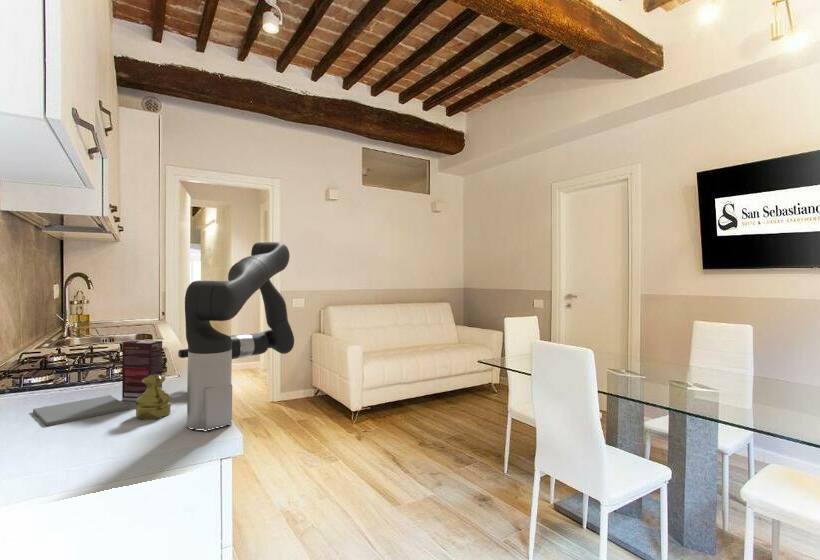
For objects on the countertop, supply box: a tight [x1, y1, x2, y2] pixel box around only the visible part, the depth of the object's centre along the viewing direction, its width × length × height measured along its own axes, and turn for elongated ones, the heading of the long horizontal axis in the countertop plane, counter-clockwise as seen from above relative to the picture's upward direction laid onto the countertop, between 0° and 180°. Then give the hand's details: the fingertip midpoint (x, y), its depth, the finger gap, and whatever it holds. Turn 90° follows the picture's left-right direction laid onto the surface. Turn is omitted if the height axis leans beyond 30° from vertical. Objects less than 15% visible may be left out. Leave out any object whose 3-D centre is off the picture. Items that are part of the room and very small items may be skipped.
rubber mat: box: [32, 394, 129, 427], centre depth 106 cm, size 14×16×1 cm
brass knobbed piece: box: [135, 374, 172, 420], centre depth 104 cm, size 7×7×10 cm
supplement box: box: [121, 339, 163, 402], centre depth 116 cm, size 9×5×16 cm, turn 84°
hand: (179, 354), depth 124 cm, fingers closed
